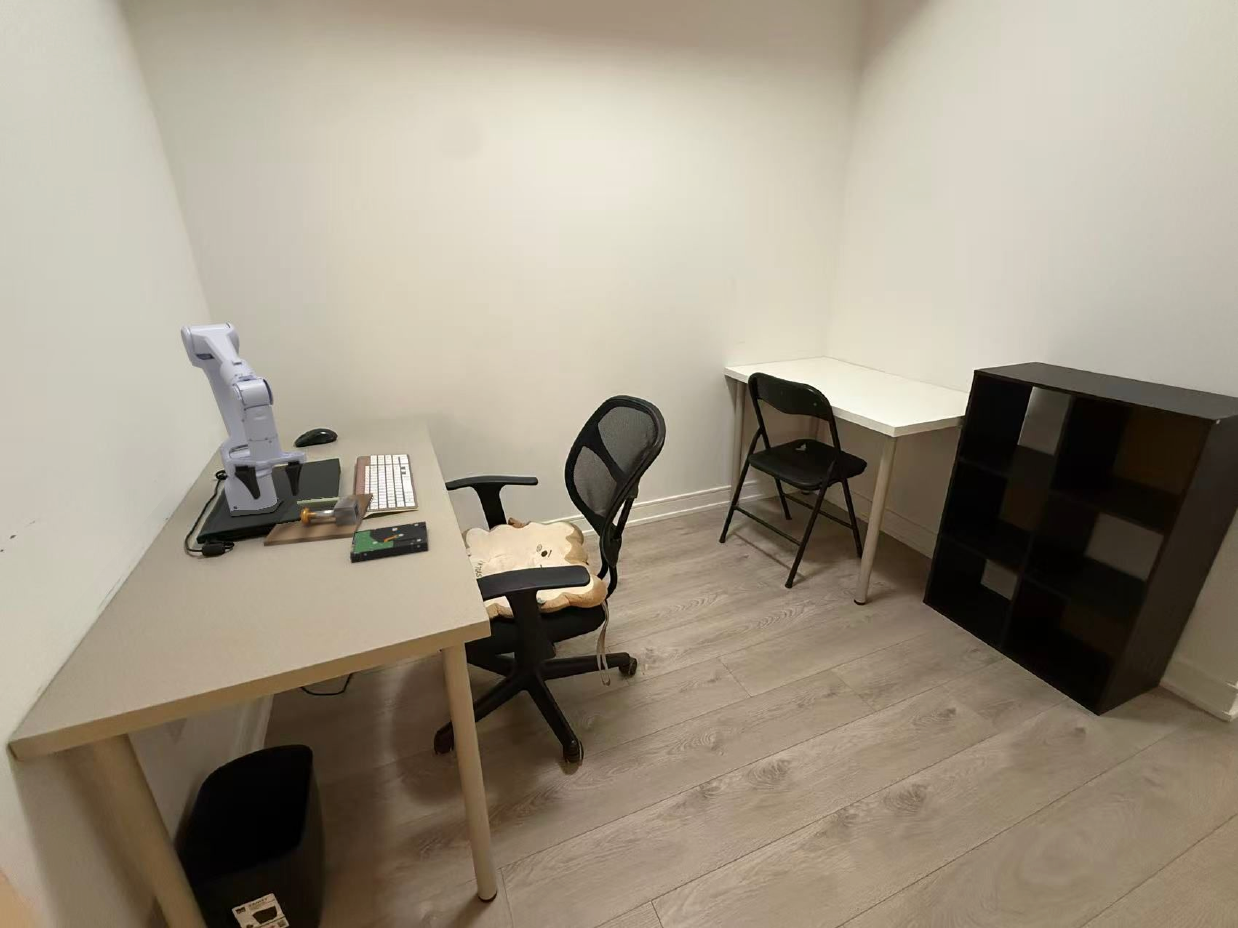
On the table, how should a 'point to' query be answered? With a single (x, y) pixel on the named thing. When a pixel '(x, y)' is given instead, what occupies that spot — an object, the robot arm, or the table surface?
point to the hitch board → (324, 523)
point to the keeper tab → (319, 503)
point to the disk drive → (389, 542)
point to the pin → (315, 515)
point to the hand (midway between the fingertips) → (276, 495)
